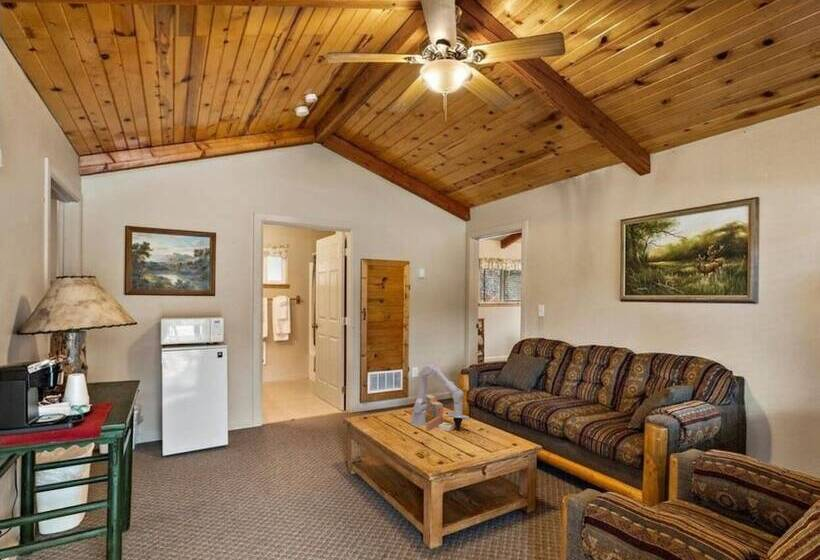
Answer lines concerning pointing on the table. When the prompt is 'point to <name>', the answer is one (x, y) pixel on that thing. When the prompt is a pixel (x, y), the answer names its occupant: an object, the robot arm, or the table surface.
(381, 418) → the table surface
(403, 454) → the table surface
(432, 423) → the wall
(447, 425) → the beige square frame
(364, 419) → the table surface
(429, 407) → the stack of blocks
